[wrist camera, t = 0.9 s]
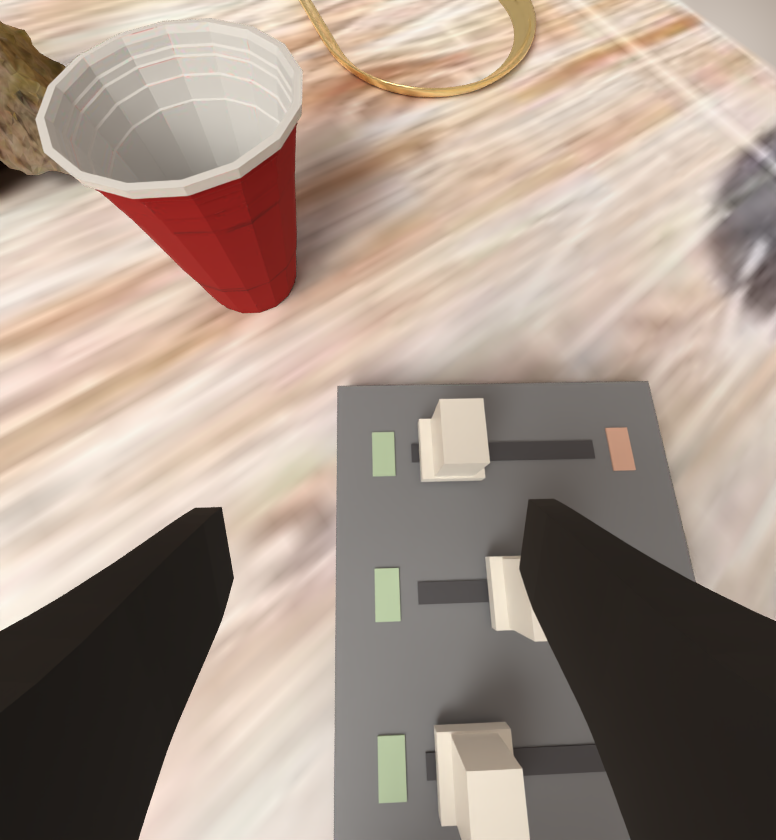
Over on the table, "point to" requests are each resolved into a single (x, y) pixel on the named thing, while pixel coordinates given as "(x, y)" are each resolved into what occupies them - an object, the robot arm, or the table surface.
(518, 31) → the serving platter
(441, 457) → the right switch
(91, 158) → the plastic cup
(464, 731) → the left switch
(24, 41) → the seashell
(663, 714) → the robot arm
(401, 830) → the switch panel
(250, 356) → the table surface
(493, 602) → the switch
